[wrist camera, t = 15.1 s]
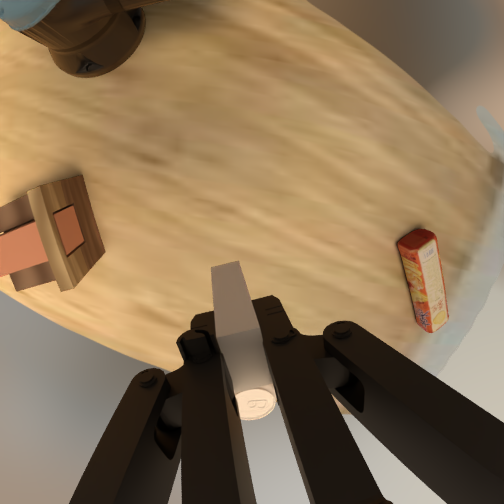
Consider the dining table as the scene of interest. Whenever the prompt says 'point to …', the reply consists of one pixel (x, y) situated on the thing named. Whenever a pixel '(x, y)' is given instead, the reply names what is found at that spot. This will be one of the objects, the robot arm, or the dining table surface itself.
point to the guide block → (55, 233)
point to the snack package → (425, 278)
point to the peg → (36, 242)
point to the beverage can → (256, 402)
